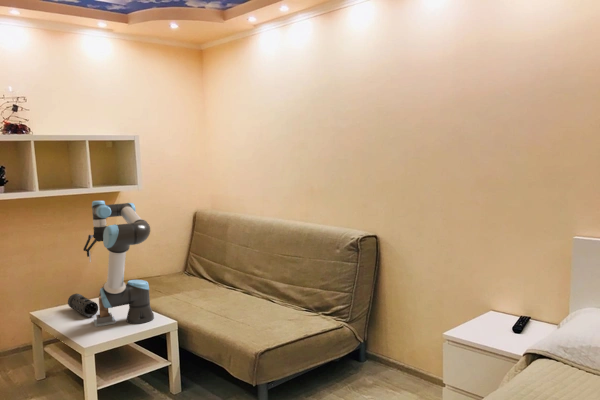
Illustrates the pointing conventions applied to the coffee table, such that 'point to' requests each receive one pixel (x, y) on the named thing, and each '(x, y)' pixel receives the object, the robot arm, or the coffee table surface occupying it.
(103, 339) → the coffee table surface
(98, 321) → the socket stand
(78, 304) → the muzzle brake
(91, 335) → the coffee table surface
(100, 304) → the walnut post
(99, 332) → the coffee table surface
